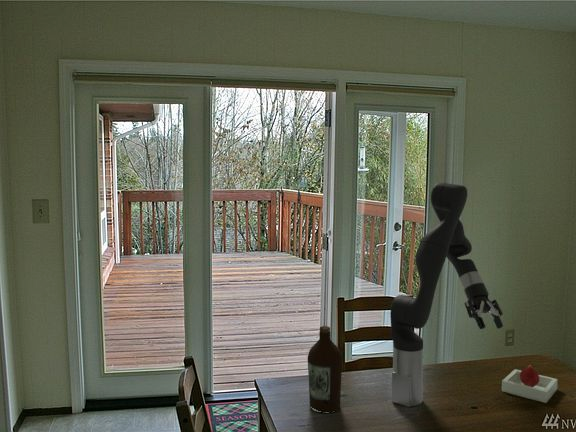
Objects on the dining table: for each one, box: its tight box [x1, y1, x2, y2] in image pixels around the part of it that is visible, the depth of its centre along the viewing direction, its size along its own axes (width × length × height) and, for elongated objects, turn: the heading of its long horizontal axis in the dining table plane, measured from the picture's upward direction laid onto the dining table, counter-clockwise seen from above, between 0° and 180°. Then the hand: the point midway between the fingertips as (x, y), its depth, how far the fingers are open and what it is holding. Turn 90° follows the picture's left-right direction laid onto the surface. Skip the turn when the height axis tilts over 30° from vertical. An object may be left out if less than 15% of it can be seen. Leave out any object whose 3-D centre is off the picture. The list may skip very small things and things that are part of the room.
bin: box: [501, 368, 558, 404], centre depth 163 cm, size 13×13×4 cm
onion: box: [520, 364, 540, 387], centre depth 163 cm, size 6×6×8 cm
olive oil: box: [307, 325, 343, 413], centre depth 151 cm, size 11×11×25 cm
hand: (491, 328), depth 172 cm, fingers open, 8 cm apart
